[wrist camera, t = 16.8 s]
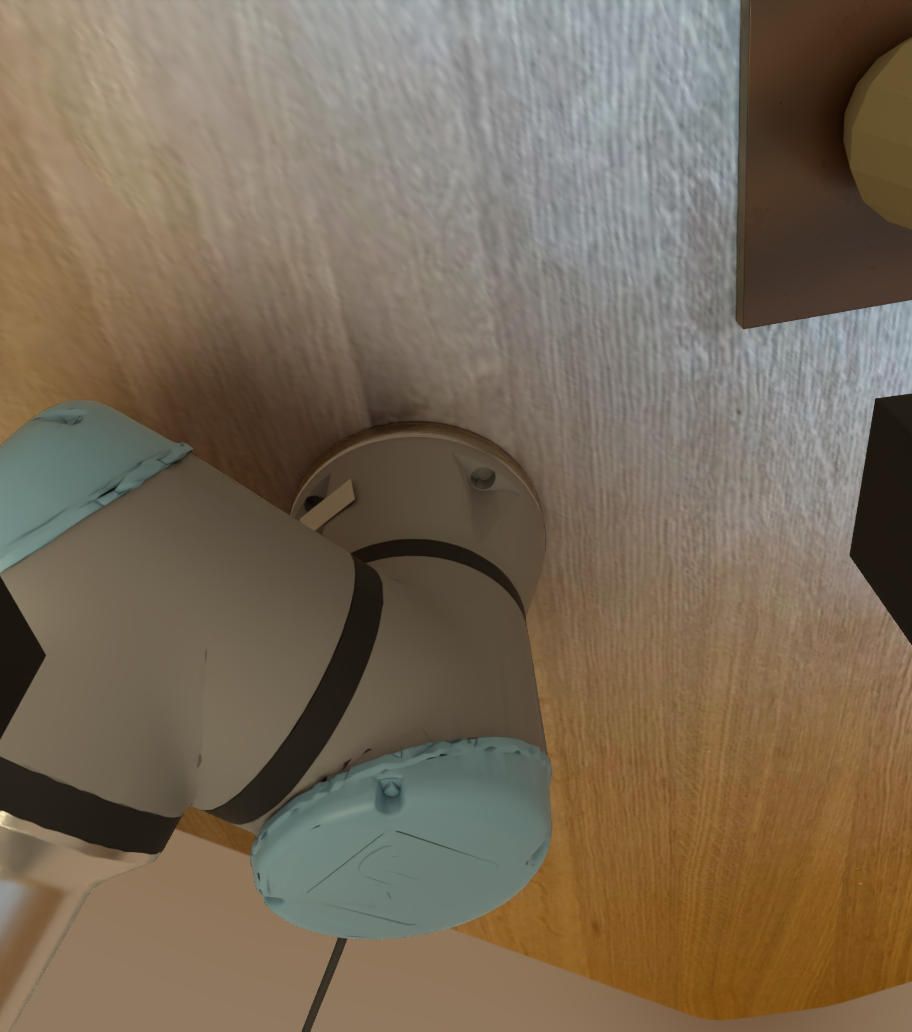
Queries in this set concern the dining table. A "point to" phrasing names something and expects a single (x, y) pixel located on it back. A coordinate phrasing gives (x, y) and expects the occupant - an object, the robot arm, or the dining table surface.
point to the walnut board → (811, 163)
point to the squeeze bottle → (883, 135)
